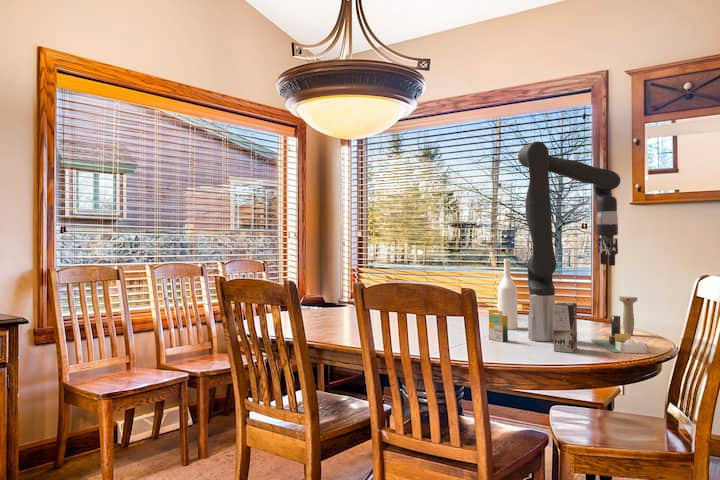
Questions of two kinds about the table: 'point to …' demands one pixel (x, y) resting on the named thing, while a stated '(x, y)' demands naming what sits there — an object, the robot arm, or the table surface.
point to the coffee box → (565, 327)
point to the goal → (631, 347)
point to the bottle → (508, 297)
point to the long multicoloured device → (618, 330)
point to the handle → (628, 314)
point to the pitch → (607, 345)
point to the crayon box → (498, 326)
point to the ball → (629, 341)
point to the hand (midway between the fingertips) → (607, 264)
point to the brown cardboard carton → (611, 340)
